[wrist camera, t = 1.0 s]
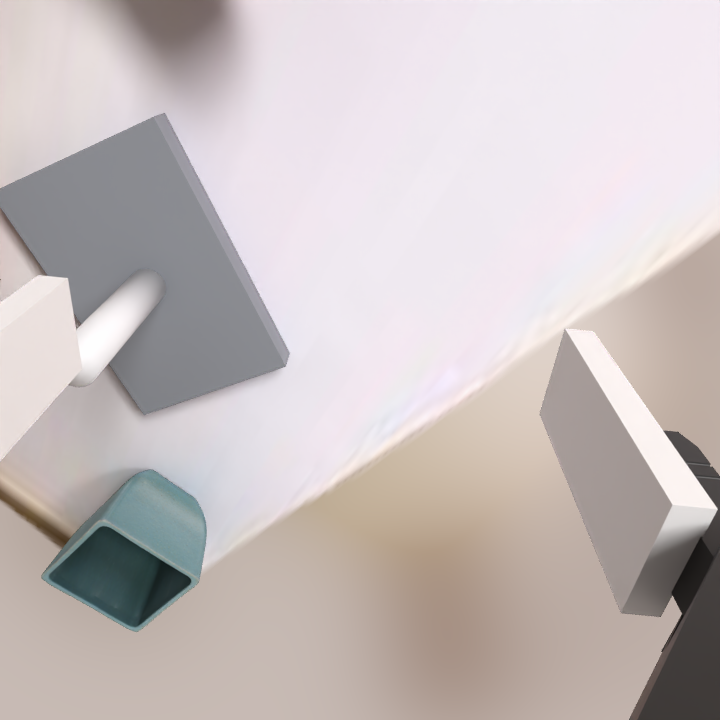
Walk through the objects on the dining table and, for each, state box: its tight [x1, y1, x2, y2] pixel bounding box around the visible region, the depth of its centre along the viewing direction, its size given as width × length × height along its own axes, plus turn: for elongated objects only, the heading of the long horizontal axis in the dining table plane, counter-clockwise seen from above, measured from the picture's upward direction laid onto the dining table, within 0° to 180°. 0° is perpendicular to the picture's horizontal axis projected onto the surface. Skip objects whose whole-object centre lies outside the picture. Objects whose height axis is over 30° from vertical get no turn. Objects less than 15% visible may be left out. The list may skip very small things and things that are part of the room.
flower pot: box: [42, 470, 207, 632], centre depth 48 cm, size 9×9×9 cm
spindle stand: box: [0, 113, 289, 415], centre depth 36 cm, size 18×12×13 cm, turn 22°
